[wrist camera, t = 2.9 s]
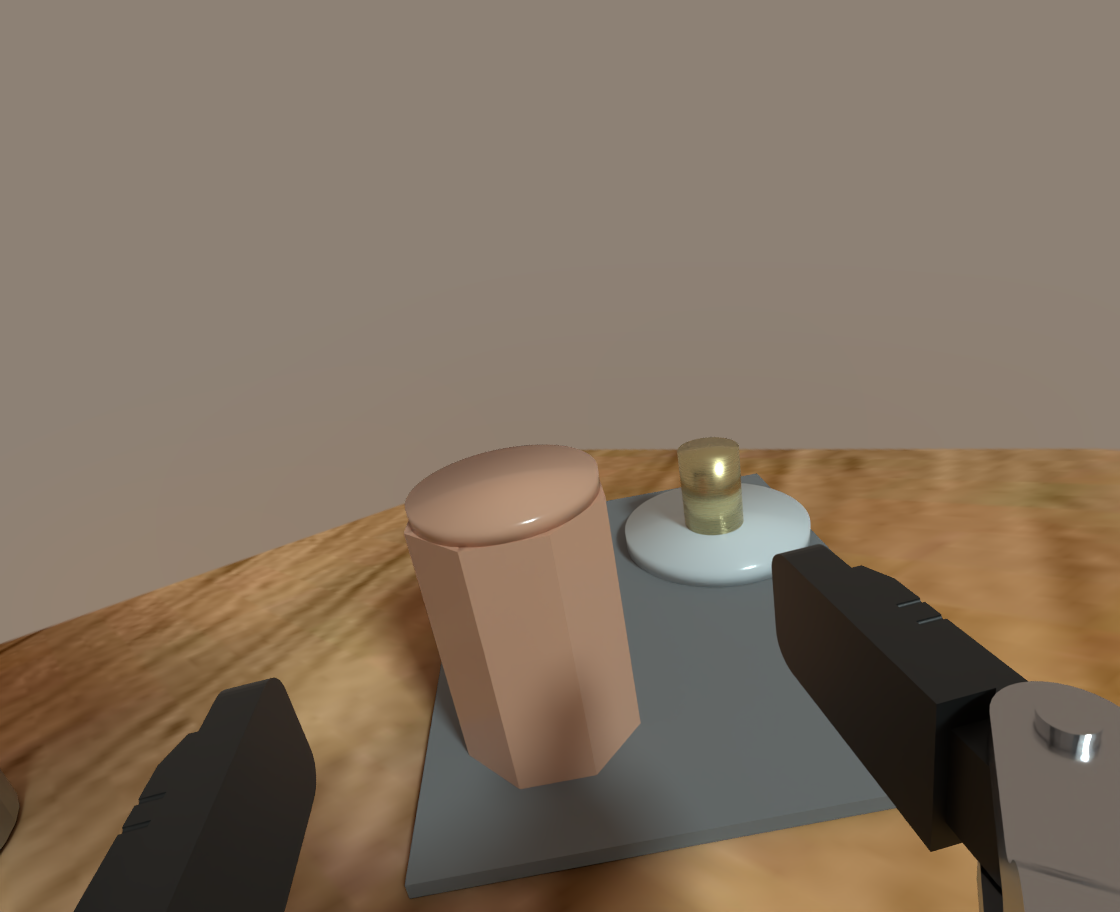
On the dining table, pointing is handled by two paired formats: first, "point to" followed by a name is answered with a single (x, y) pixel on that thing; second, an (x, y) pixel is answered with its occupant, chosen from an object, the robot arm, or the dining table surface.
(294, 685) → the dining table surface
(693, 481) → the brass weight
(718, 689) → the rubber mat
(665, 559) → the saucer
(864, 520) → the dining table surface
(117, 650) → the dining table surface
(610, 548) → the domed octagonal post
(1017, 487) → the dining table surface
